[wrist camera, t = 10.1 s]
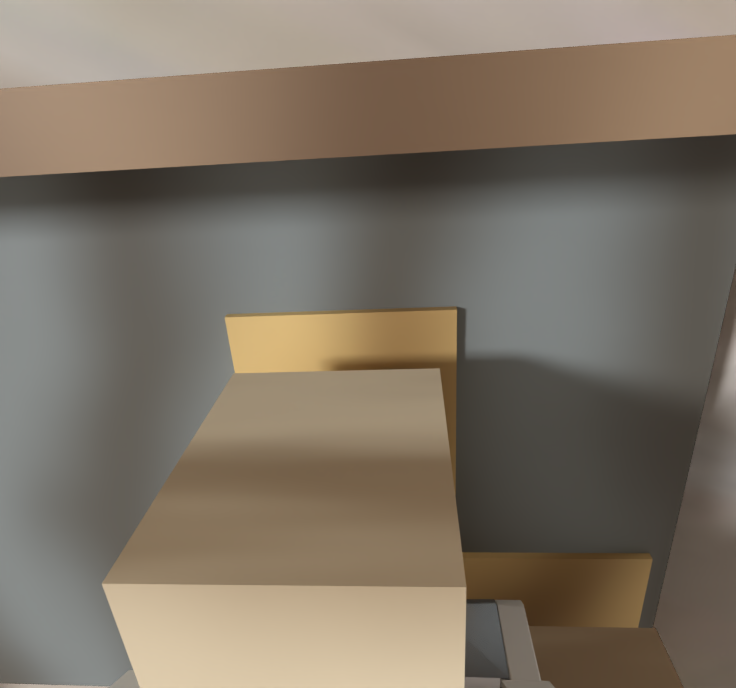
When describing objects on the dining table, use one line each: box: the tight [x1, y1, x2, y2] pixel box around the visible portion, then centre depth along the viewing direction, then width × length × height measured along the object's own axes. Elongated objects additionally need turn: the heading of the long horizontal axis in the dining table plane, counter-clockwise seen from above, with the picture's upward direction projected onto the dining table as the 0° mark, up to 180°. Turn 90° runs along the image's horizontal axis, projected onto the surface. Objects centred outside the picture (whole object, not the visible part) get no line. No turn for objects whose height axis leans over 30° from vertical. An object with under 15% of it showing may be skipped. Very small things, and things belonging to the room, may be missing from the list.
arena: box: [0, 35, 736, 686], centre depth 12 cm, size 27×18×5 cm, turn 93°
